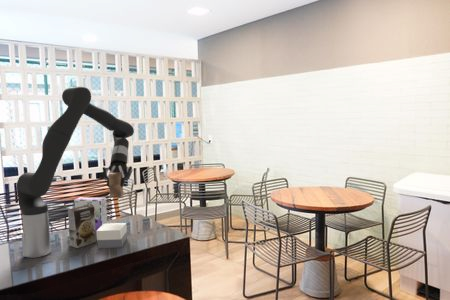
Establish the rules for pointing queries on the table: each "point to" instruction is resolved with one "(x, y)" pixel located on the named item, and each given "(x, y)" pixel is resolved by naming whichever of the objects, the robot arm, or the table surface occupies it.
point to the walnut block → (115, 185)
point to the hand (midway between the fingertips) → (115, 186)
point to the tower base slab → (112, 242)
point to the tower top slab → (111, 231)
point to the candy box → (98, 206)
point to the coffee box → (81, 226)
